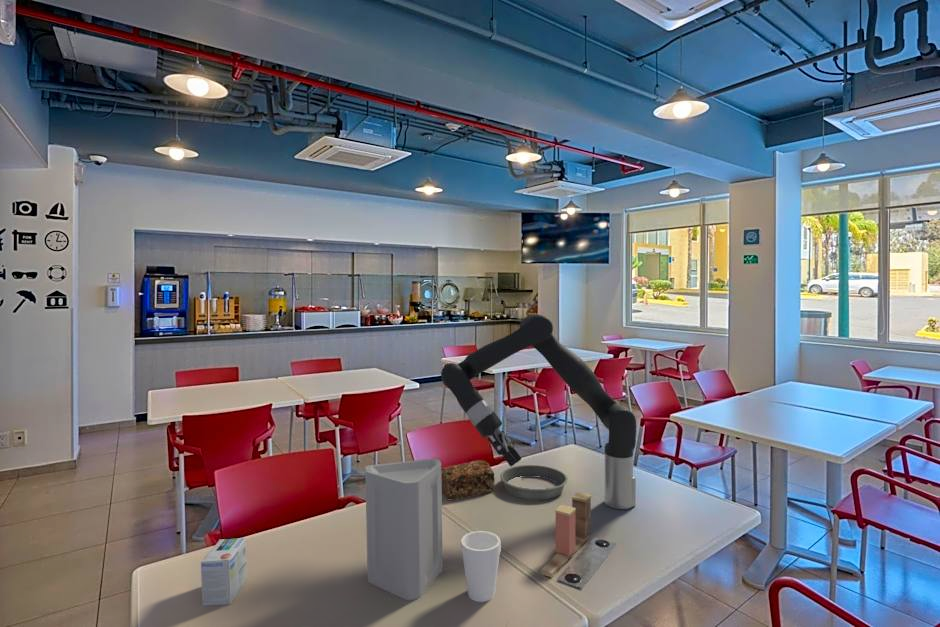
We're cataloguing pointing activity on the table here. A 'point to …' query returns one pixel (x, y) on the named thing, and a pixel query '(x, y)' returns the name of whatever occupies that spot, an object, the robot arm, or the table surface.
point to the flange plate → (587, 562)
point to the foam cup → (481, 563)
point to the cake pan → (534, 471)
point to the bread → (467, 479)
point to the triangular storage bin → (404, 526)
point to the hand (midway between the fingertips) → (516, 462)
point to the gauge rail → (562, 557)
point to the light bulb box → (223, 572)
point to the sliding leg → (565, 530)
